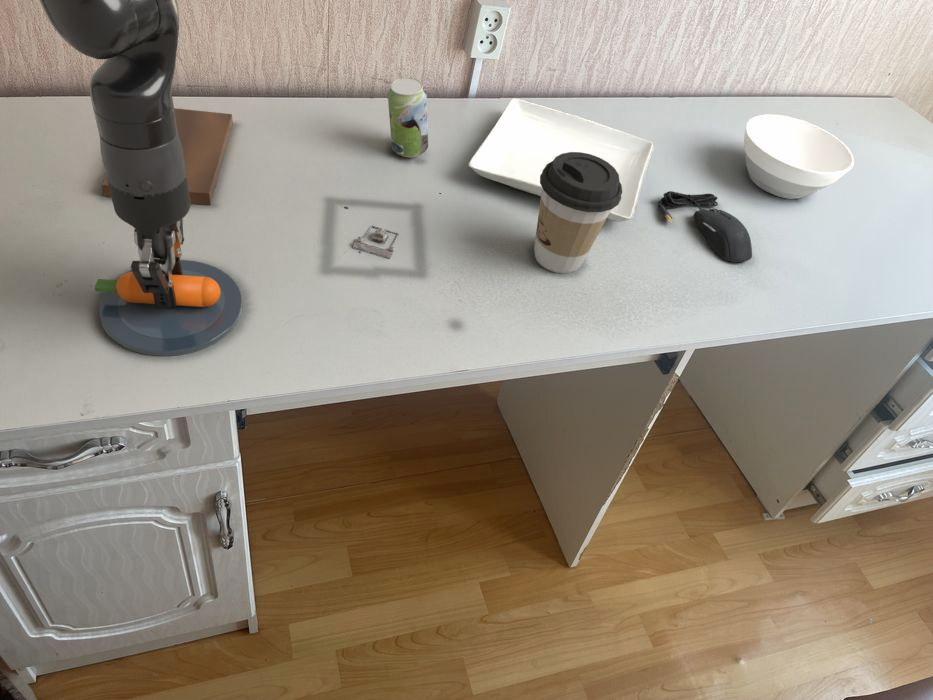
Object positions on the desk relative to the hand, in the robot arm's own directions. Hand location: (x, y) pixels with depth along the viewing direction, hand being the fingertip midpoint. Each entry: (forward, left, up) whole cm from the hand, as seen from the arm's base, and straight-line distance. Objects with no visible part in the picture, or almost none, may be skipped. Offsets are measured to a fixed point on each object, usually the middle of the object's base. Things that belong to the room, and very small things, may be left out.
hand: (170, 294), depth 84 cm
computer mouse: (+77, +25, -2) cm, 81 cm away
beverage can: (+29, +40, -2) cm, 50 cm away
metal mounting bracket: (+26, +12, -3) cm, 29 cm away
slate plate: (0, 0, -2) cm, 2 cm away
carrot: (-1, 0, -1) cm, 2 cm away
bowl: (+98, +42, -2) cm, 107 cm away
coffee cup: (+51, +15, -2) cm, 53 cm away
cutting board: (-6, +32, -2) cm, 33 cm away
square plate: (+56, +39, -2) cm, 68 cm away
